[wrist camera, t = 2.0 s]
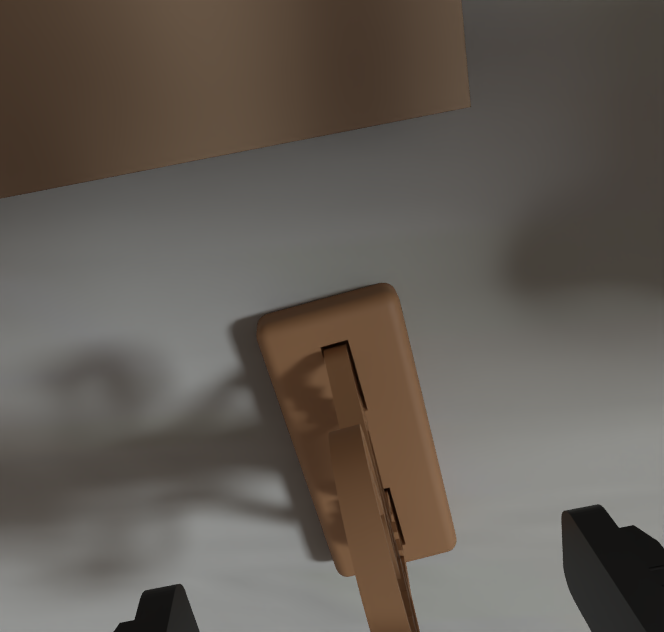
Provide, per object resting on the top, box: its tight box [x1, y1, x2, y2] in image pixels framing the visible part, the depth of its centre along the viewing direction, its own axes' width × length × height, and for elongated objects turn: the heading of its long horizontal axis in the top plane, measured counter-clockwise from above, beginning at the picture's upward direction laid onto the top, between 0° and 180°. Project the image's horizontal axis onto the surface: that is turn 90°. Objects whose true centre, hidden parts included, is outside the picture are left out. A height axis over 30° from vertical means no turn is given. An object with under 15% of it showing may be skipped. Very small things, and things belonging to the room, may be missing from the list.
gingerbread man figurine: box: [256, 283, 456, 632], centre depth 13 cm, size 9×4×12 cm, turn 15°
